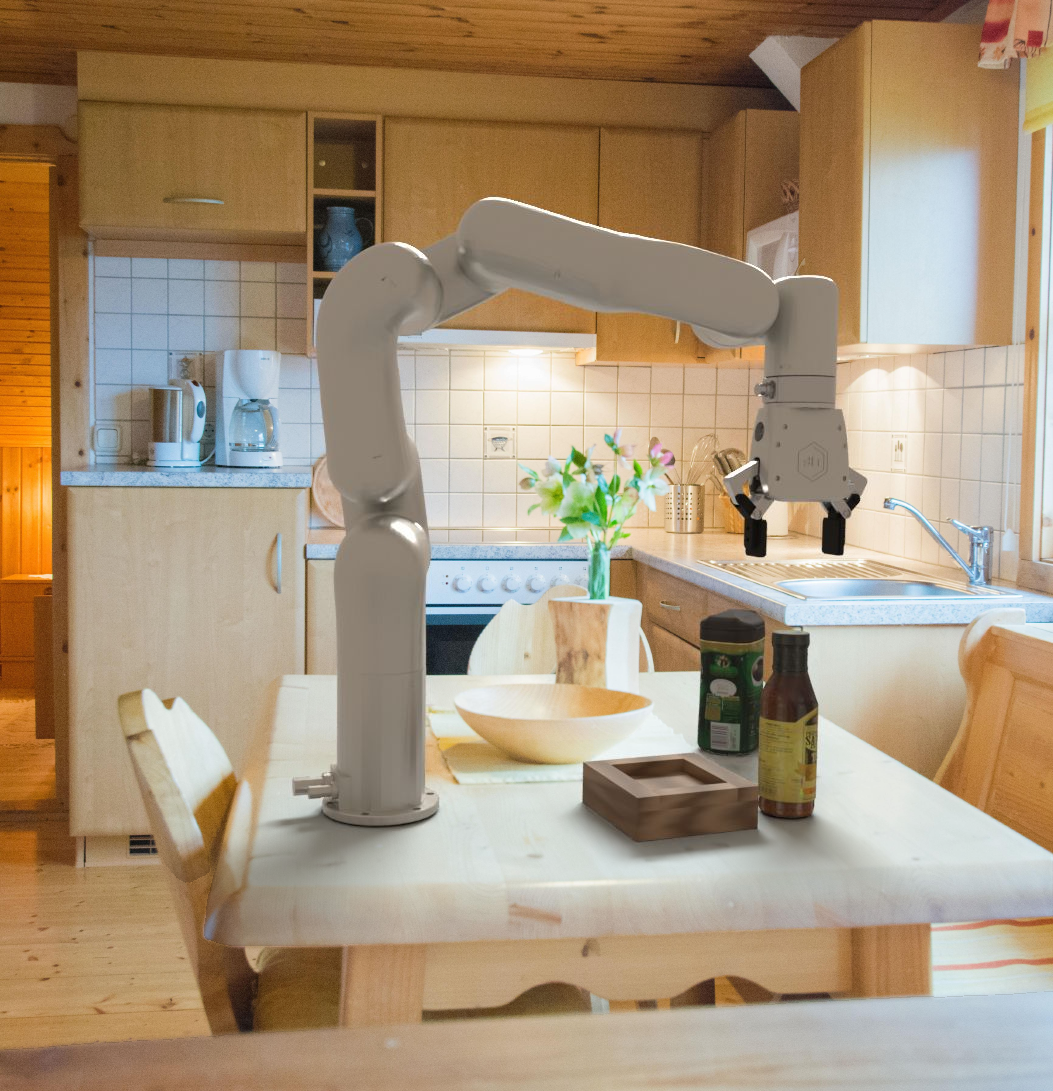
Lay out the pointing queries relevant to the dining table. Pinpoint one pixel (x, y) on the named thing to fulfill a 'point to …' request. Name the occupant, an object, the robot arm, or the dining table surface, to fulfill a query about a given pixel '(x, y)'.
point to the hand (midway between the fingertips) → (794, 555)
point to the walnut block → (669, 796)
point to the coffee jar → (731, 681)
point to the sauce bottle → (788, 730)
